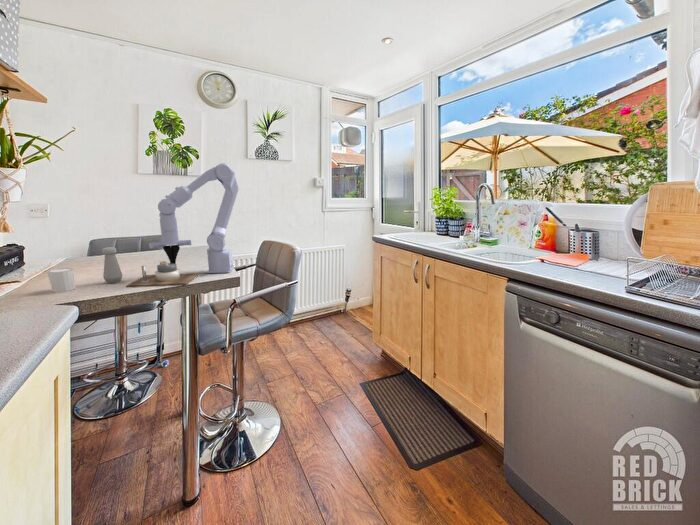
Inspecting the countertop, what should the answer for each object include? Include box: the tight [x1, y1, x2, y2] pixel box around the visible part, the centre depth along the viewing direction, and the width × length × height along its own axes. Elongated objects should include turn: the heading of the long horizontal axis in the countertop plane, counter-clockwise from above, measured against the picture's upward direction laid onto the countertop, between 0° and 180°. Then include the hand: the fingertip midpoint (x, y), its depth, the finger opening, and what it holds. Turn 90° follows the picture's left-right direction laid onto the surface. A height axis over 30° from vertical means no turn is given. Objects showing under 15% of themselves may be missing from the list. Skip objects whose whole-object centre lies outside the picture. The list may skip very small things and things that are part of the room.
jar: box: [154, 268, 181, 281], centre depth 126 cm, size 8×8×3 cm
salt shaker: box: [101, 246, 123, 284], centre depth 122 cm, size 6×6×13 cm
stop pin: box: [141, 265, 150, 283], centre depth 121 cm, size 3×3×6 cm
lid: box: [156, 260, 178, 272], centre depth 127 cm, size 12×6×2 cm, turn 39°
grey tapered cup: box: [46, 267, 76, 293], centre depth 113 cm, size 7×7×7 cm
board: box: [125, 272, 201, 288], centre depth 126 cm, size 20×16×1 cm
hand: (173, 264), depth 133 cm, fingers closed
